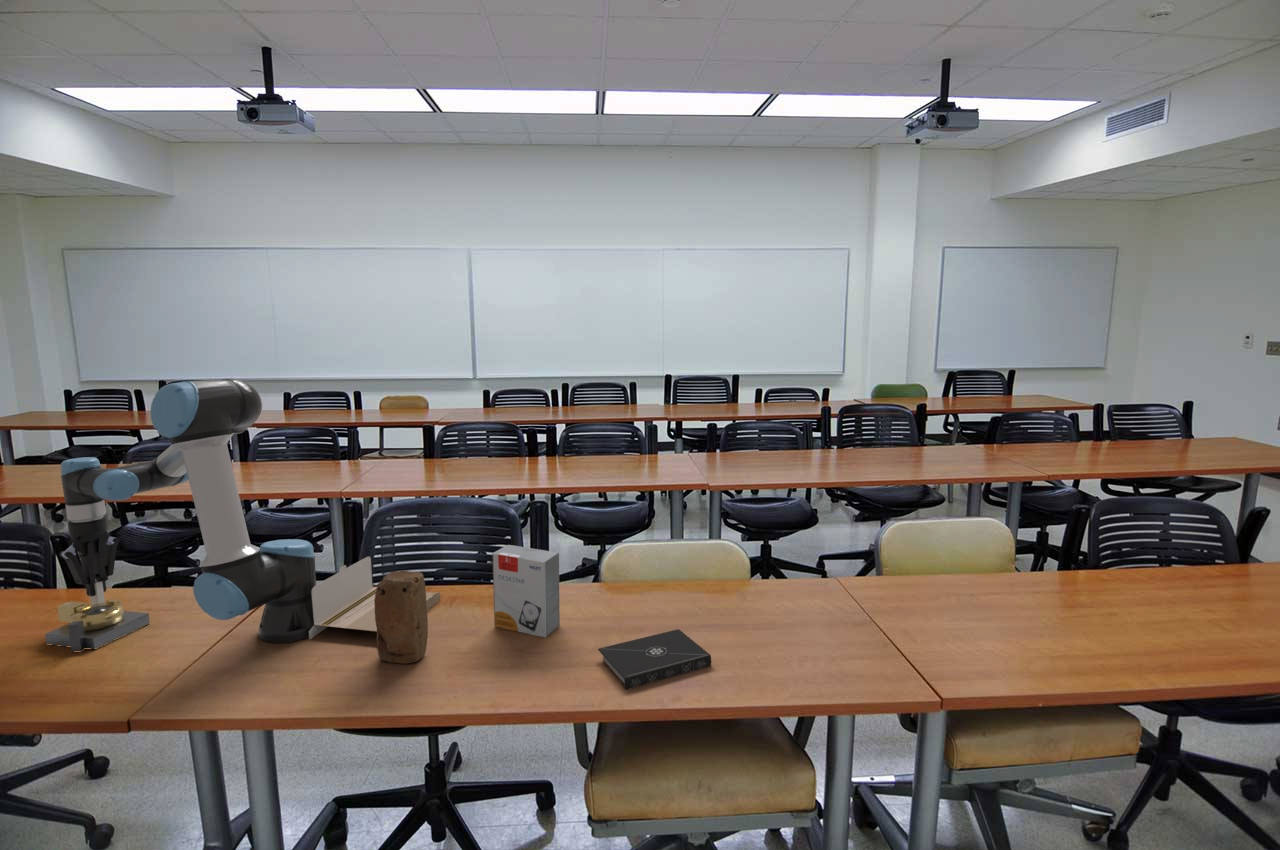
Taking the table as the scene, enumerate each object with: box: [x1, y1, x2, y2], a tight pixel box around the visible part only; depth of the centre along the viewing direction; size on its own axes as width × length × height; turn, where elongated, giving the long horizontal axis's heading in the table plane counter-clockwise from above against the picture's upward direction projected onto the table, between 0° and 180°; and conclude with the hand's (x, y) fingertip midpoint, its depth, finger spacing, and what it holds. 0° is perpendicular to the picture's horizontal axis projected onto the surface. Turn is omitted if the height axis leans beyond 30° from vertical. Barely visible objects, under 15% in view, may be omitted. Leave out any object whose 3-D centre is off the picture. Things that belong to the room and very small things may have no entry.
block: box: [374, 570, 429, 664], centre depth 146 cm, size 11×8×20 cm
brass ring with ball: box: [56, 599, 125, 631], centre depth 158 cm, size 15×10×4 cm, turn 80°
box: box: [308, 556, 441, 641], centre depth 167 cm, size 35×20×14 cm, turn 168°
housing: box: [44, 610, 150, 652], centre depth 157 cm, size 14×16×7 cm
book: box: [597, 628, 712, 690], centre depth 145 cm, size 22×15×3 cm
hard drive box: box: [492, 544, 561, 638], centre depth 161 cm, size 16×8×20 cm, turn 68°
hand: (98, 605), depth 165 cm, fingers closed
